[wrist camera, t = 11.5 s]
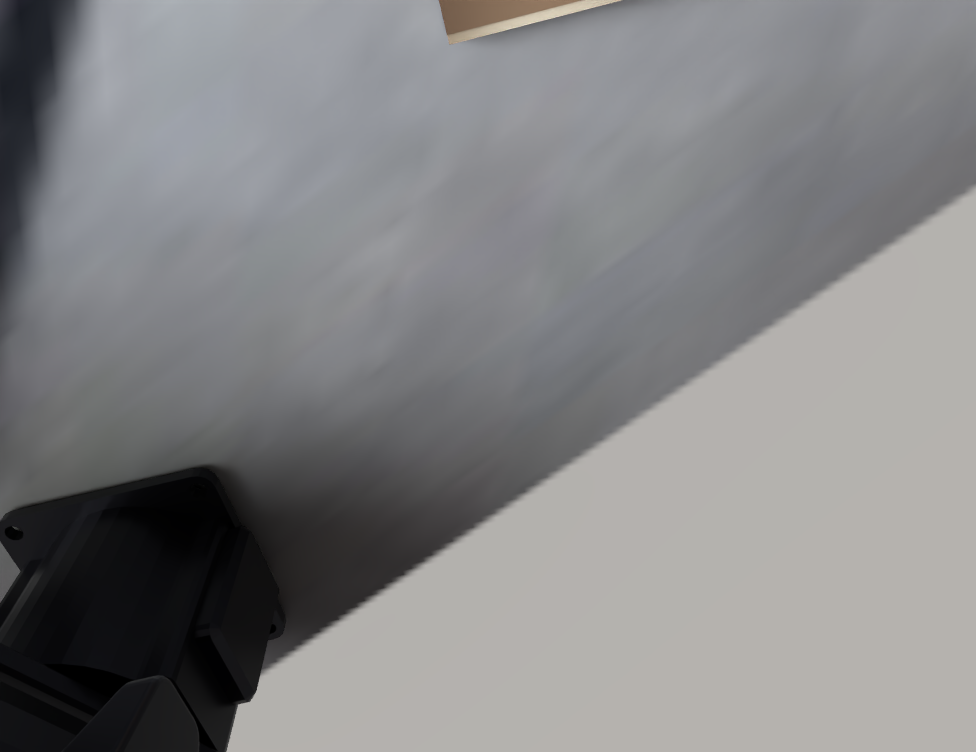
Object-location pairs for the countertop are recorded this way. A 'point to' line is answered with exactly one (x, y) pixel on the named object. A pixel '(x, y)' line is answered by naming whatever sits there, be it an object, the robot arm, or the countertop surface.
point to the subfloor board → (503, 14)
